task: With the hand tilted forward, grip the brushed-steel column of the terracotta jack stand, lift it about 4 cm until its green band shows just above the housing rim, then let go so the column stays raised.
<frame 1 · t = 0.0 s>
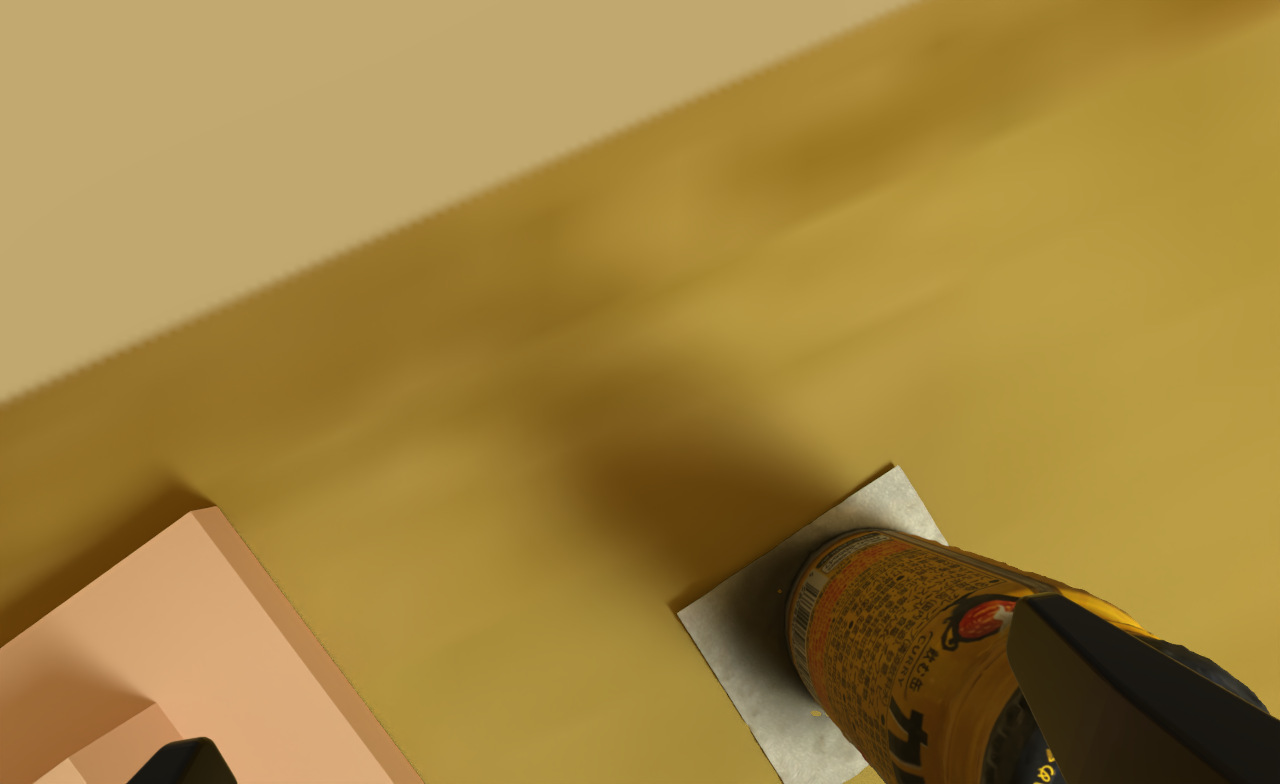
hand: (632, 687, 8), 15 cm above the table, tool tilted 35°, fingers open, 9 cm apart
condiment: (846, 632, 24), on the table
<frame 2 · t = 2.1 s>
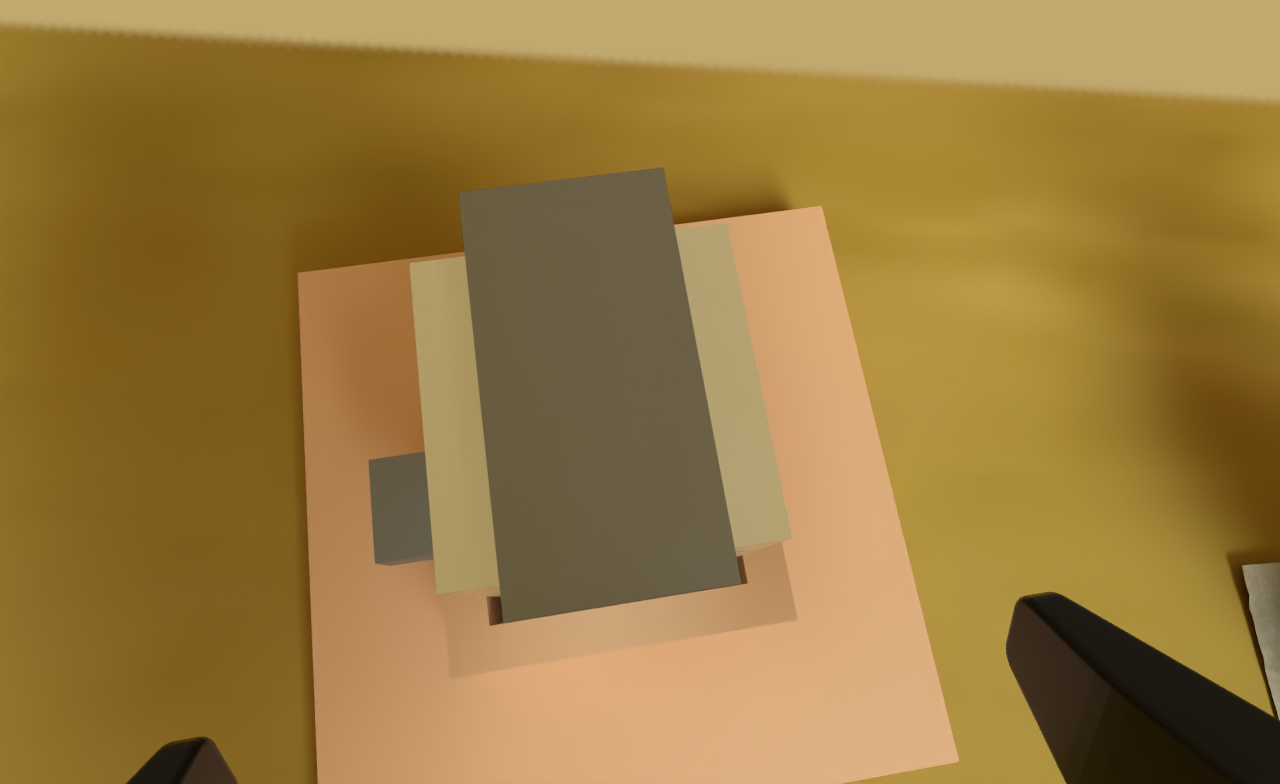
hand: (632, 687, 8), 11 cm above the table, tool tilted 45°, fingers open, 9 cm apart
column: (599, 460, 13), point 7 cm above the table, slide at 0.0 cm
stand: (604, 506, 19), on the table
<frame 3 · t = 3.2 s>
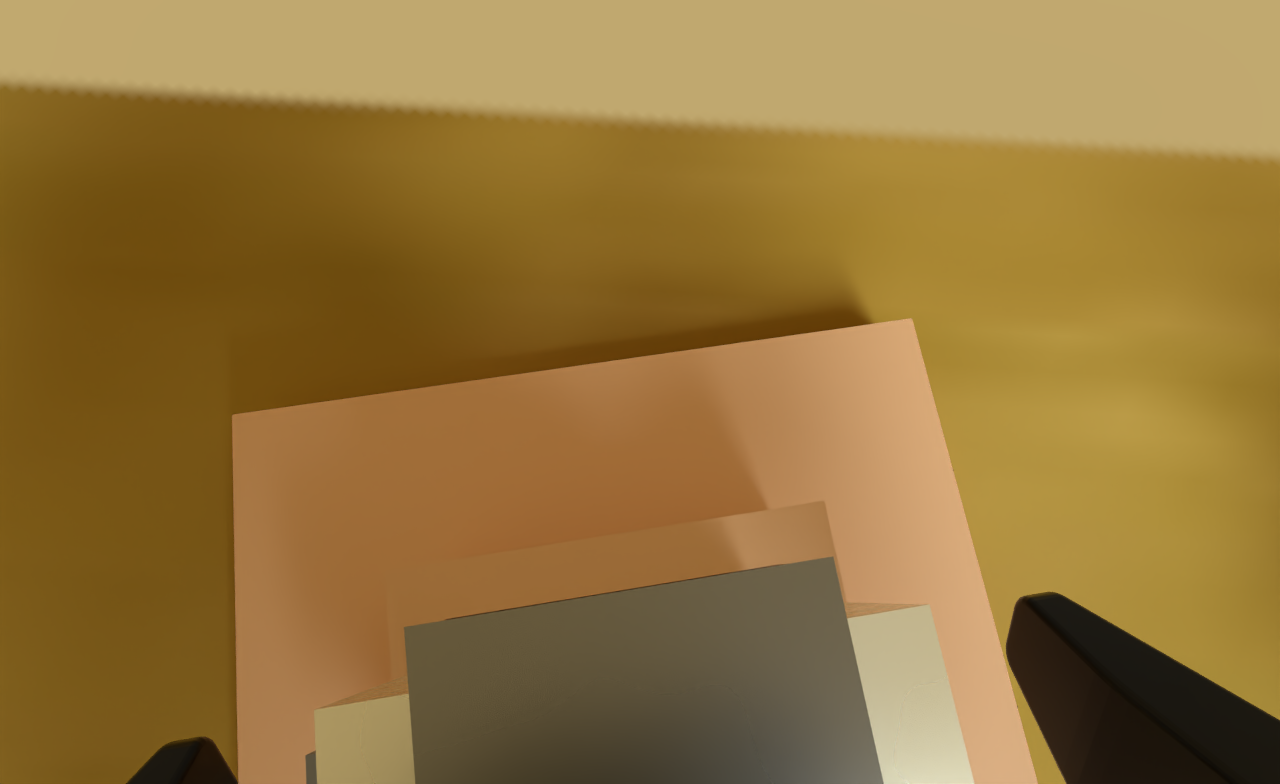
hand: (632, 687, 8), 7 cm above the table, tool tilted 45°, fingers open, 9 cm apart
stand: (634, 718, 15), on the table
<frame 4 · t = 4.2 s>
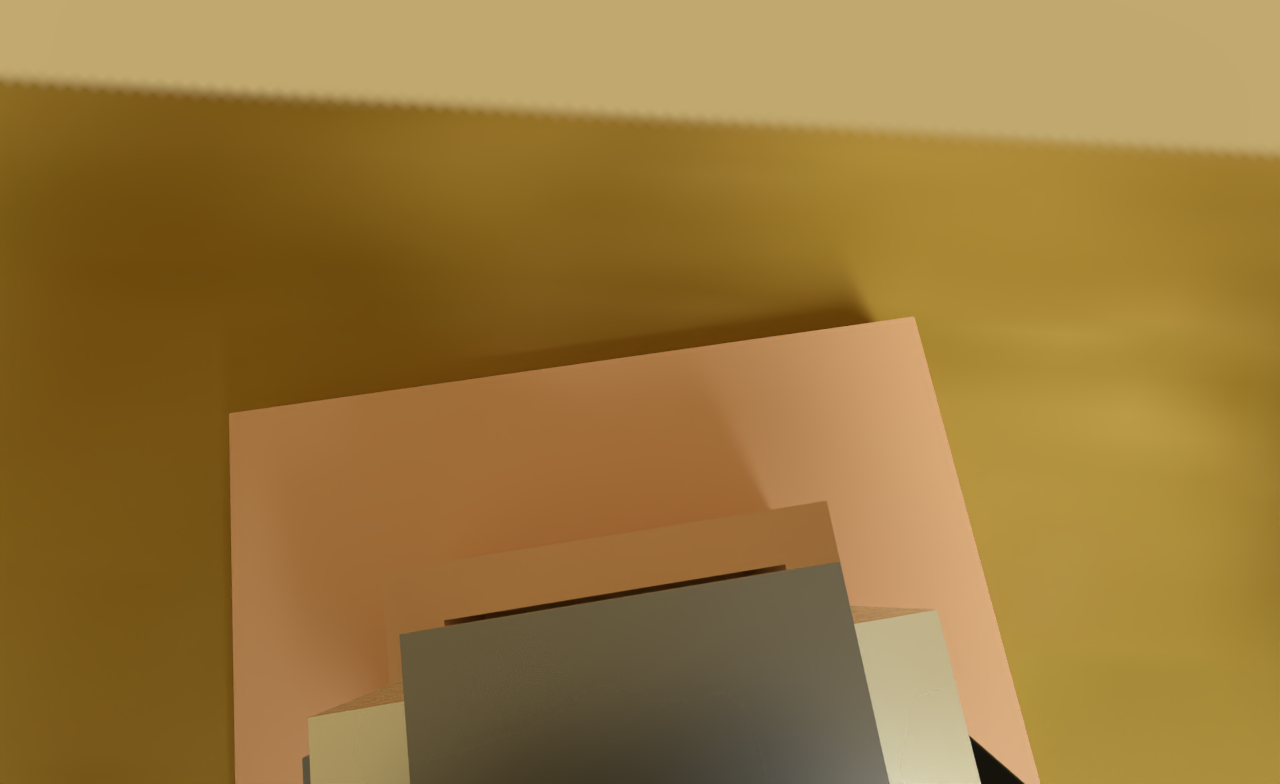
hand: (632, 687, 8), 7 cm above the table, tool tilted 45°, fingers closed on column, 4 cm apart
stand: (634, 718, 15), on the table
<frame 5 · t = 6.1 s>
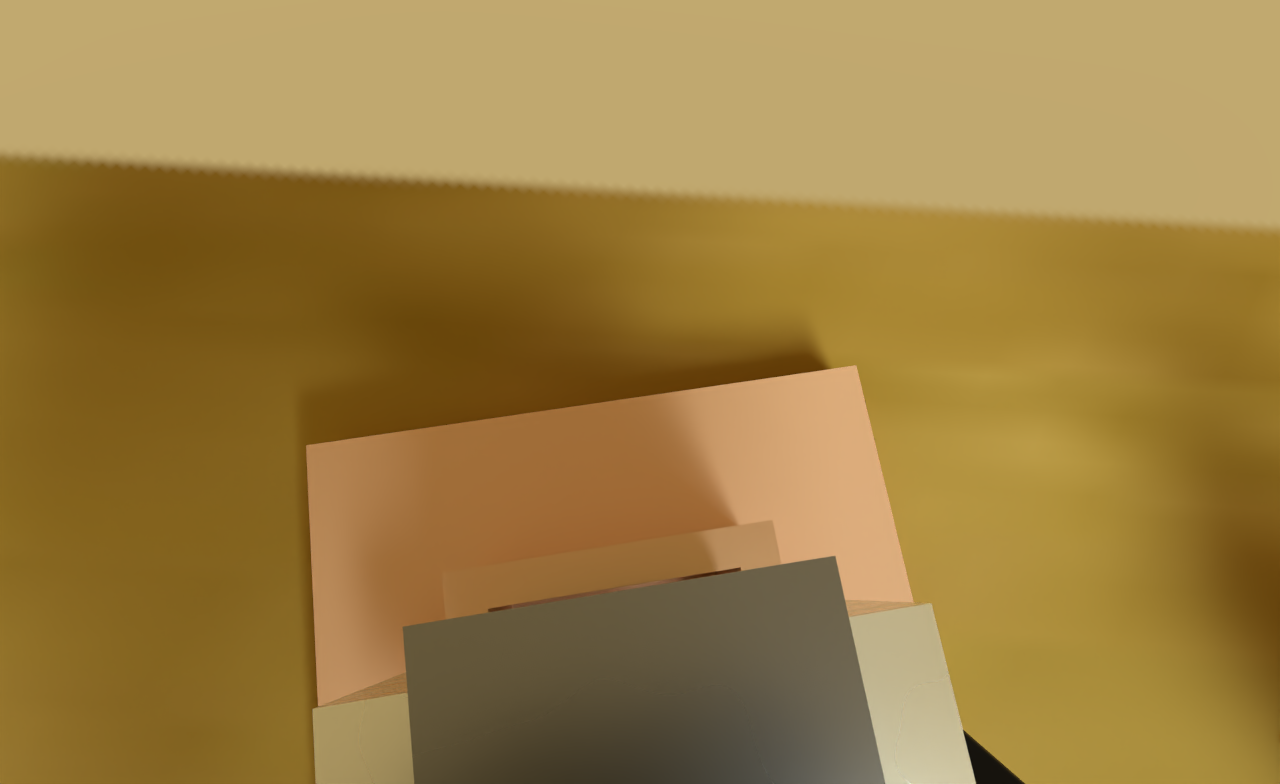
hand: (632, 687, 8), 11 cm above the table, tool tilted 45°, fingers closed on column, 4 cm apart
stand: (629, 689, 18), on the table
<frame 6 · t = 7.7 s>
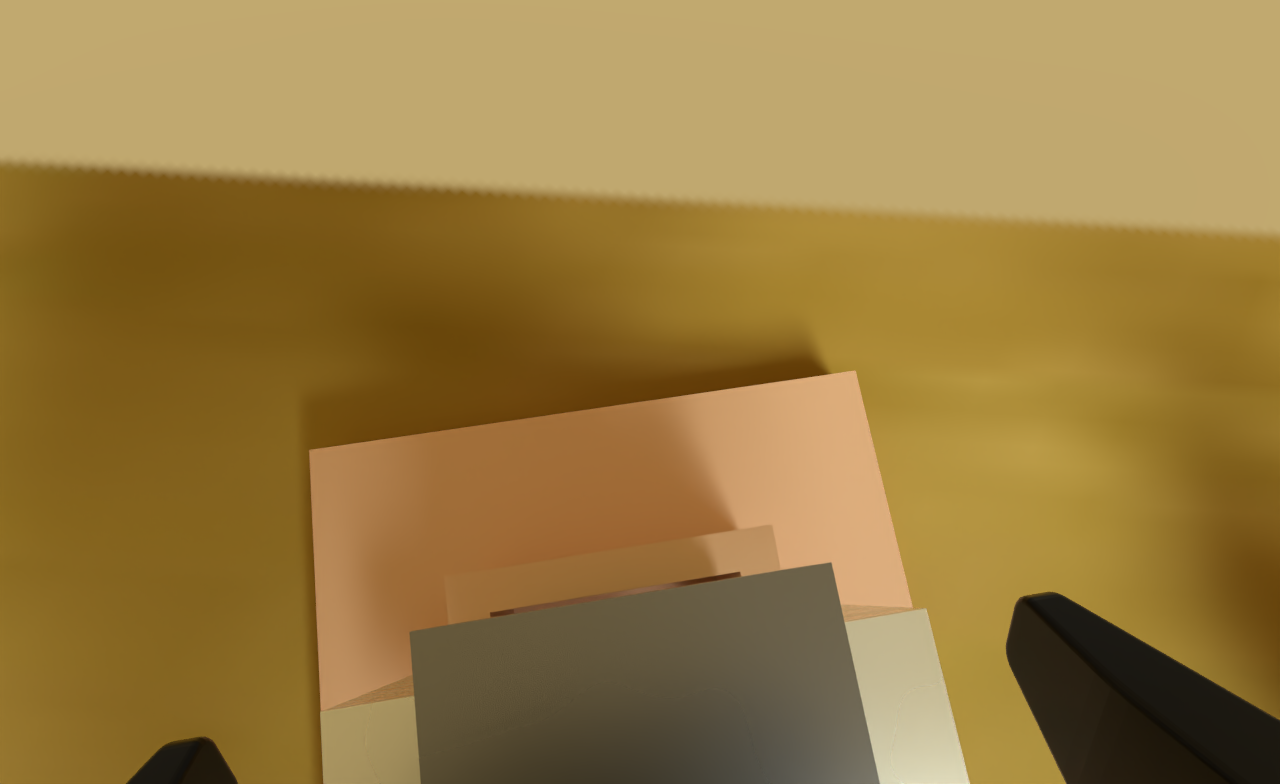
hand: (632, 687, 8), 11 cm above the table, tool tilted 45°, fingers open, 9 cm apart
stand: (630, 692, 19), on the table
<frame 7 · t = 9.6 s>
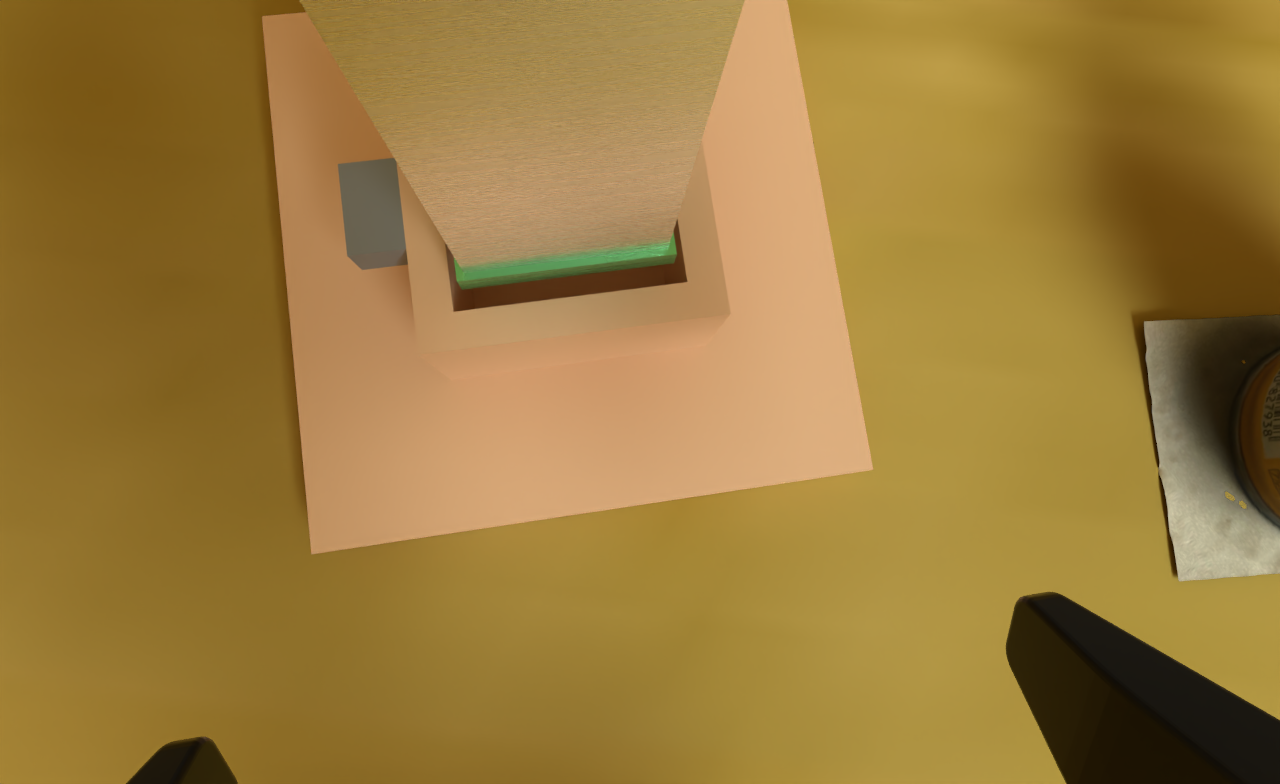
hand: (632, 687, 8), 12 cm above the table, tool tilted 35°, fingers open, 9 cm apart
column: (536, 25, 10), point 10 cm above the table, slide at 3.8 cm
stand: (565, 257, 21), on the table
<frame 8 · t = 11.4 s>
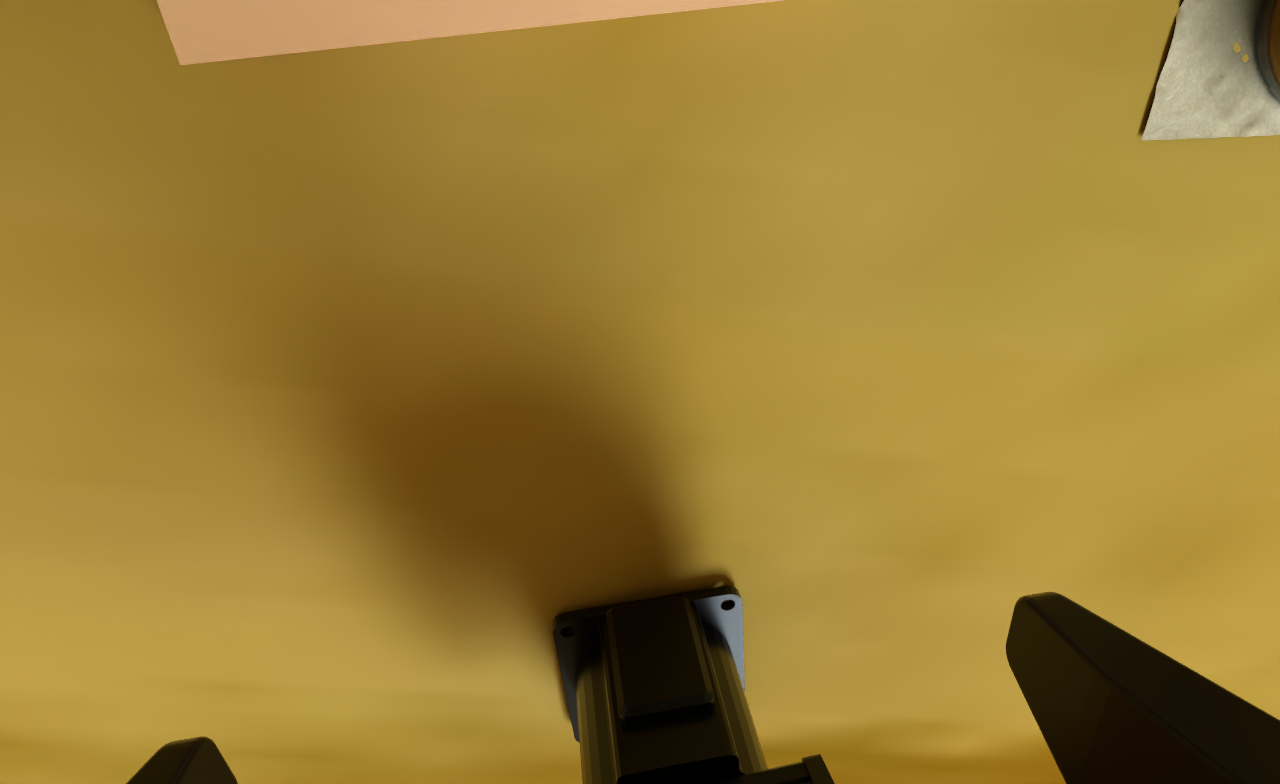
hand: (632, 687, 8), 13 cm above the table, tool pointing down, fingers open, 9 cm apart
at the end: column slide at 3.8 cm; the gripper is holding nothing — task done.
